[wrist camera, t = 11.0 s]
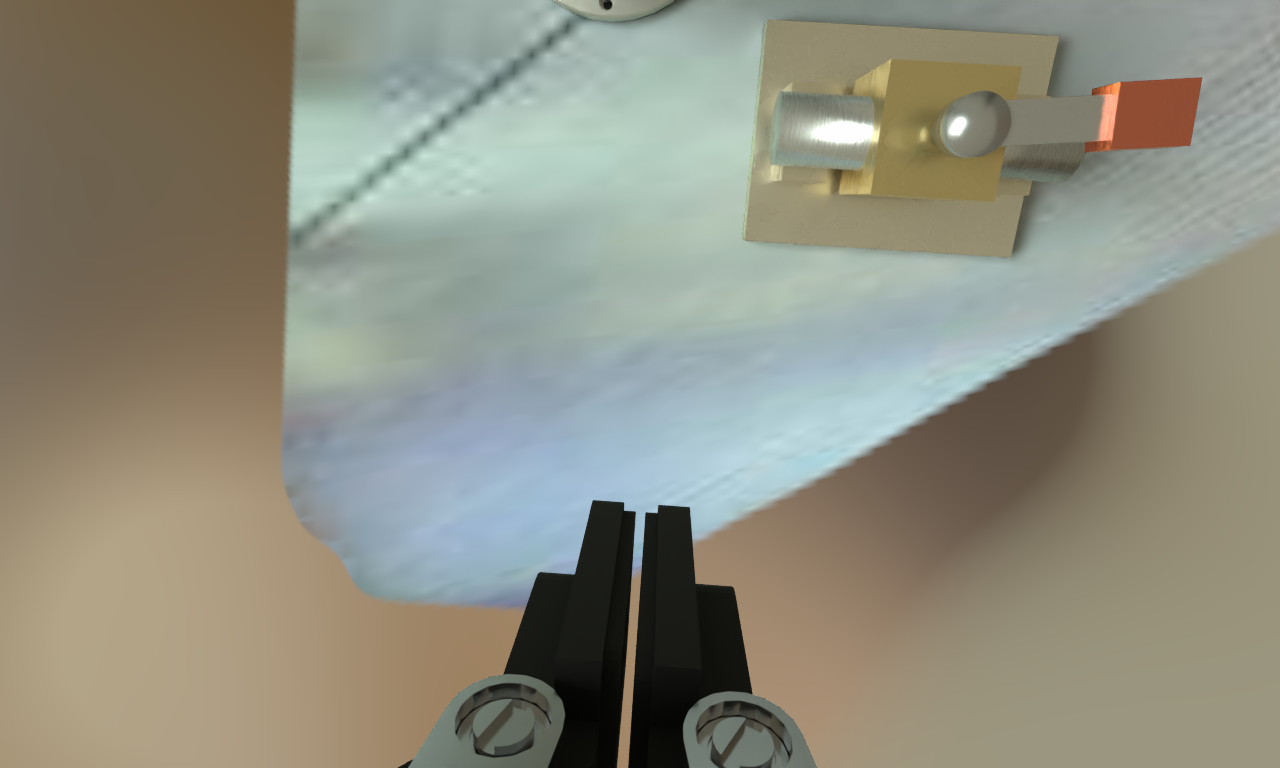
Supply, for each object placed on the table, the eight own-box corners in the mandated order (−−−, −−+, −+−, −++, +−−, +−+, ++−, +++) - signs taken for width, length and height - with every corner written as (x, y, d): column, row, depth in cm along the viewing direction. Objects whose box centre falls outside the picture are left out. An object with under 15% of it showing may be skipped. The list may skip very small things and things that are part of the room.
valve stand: (763, 26, 37) (799, -36, 27) (1043, 42, 37) (1185, -15, 27) (741, 238, 41) (766, 253, 31) (998, 255, 40) (1108, 275, 30)
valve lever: (930, 160, 29) (947, 158, 27) (935, 98, 28) (952, 91, 27) (1158, 148, 29) (1190, 145, 27) (1169, 84, 28) (1202, 77, 26)
